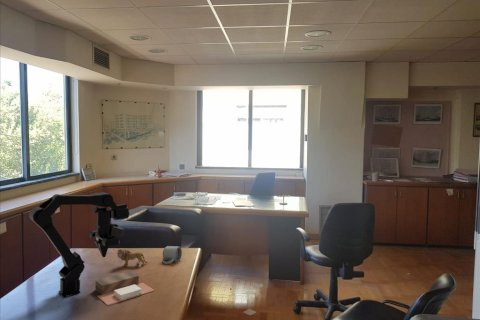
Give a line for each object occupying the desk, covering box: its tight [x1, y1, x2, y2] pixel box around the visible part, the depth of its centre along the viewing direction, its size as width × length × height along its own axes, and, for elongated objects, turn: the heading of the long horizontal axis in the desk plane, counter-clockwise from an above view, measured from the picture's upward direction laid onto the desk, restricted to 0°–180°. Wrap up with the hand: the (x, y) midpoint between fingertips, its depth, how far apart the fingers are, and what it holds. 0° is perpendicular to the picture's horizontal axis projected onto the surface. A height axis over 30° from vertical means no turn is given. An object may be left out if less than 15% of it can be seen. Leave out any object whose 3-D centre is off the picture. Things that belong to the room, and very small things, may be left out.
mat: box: [97, 282, 155, 306], centre depth 141 cm, size 20×10×1 cm, turn 134°
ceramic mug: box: [161, 245, 183, 265], centre depth 181 cm, size 11×8×8 cm
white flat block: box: [114, 284, 142, 300], centre depth 140 cm, size 9×6×2 cm, turn 134°
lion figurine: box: [116, 248, 148, 268], centre depth 174 cm, size 15×5×9 cm, turn 111°
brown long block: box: [94, 270, 140, 295], centre depth 147 cm, size 16×7×4 cm, turn 134°
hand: (103, 256), depth 150 cm, fingers closed
